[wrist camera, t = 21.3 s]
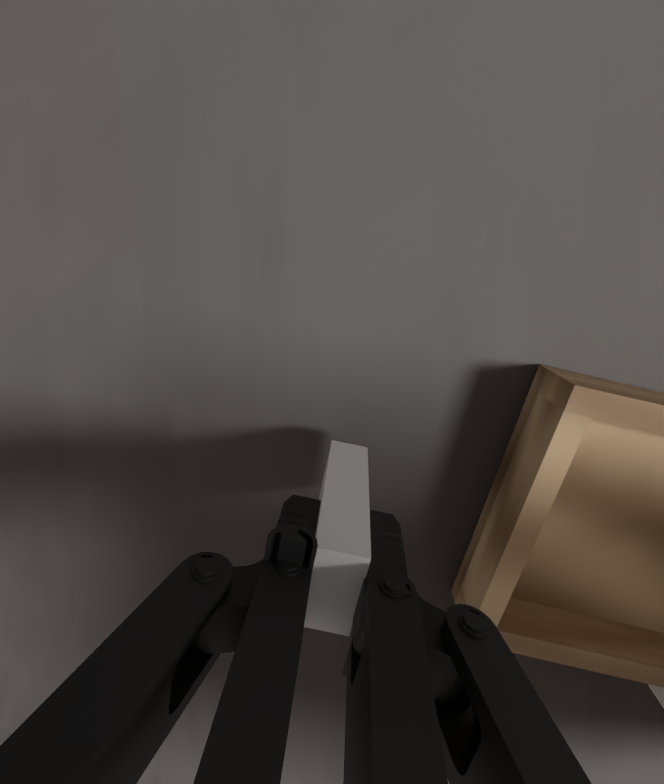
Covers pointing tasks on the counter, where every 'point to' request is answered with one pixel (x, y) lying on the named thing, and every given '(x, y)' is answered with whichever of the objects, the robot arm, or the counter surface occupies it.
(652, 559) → the tray
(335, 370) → the counter surface
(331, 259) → the counter surface
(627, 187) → the counter surface
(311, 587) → the robot arm
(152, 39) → the counter surface
